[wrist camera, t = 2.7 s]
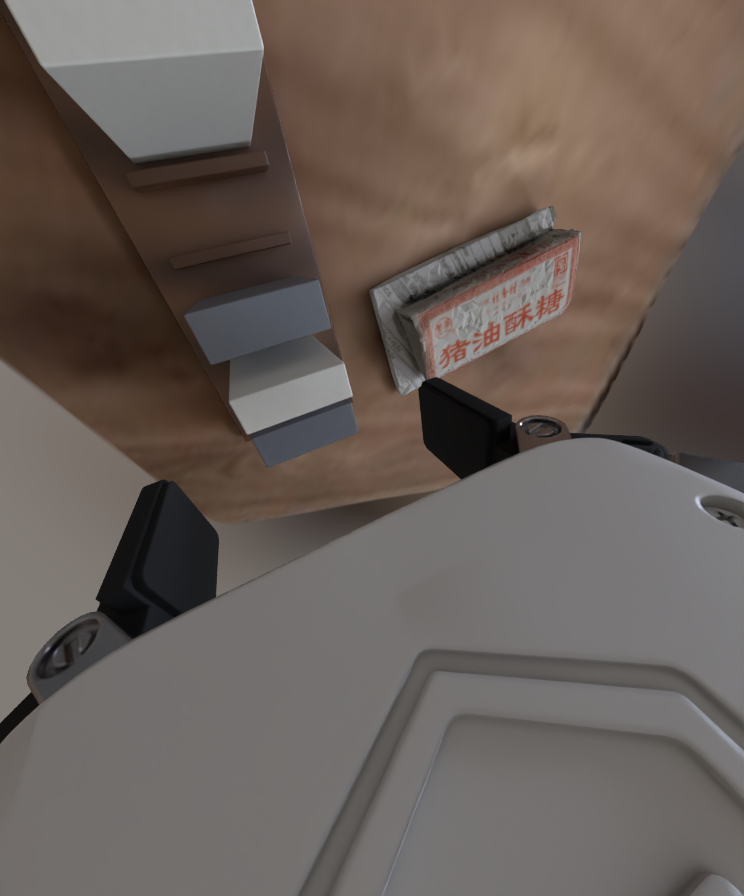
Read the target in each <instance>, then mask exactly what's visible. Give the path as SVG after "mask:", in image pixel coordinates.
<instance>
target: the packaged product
mask: <svg viewBox="0 0 744 896" xmlns="http://www.w3.org/2000/svg"><path fill="white" fill-rule="evenodd" d="M556 216H557V215H556V212H555V210H554V208H553V206H550V207H547V208H543V209H540V210H538V211H536V212H535V213H533V214H531V215H529V216H527V217H525V218H523V219H521V220H519V221H517V222H515V223H512V224H510V225H507V226H505V227H502V228H500V229H497V230H494V231H492V232H489V233H487V234H484V235H482V236H480V237H477V238H475V239H472V240H470V241H468V242H465V243H463V244H461V245H458V246H456V247H454V248H452V249H450V250H448V251H446V252H444V253H442V254H439V255H437V256H435V257H433V258H431V259H429V260H427V261H425V262H423V263H421V264H419V265H417V266H415V267H413V268H410V269H408V270H406V271H404V272H402V273H400V274H398V275H396V276H394V277H392V278H390V279H388V280H386V281H384V282H383V283H381V284H379V285H378V286H376V287H374V288H372V289H371V290H369V293H370V297H371V300H372V304H373V307H374V311H375V315H376V318H377V322H378V325H379V329H380V332H381V336H382V340H383V343H384V347H385V351H386V355H387V358H388V362H389V366H390V369H391V373H392V376H393V379H394V382H395V385H396V388H397V390H398V392H399V393H400V394H401V396H404V395H405V394H407V393H409V392H411V391H412V390H414V389H417V388H419V387H420V386H421V384H422V382H423V381H426V380H428V379H431V378H434V377H438V378H442V377H443V376H445V375H447V374H449V373H451V372H453V371H455V370H457V369H458V368H460V367H463V366H465V365H466V364H468V363H470V362H472V361H474V360H475V359H477V358H479V357H481V356H483V355H485V354H487V353H489V352H490V351H492V350H494V349H496V348H498V347H500V346H502V345H504V344H506V343H507V342H509V341H511V340H513V339H515V338H517V337H519V336H521V335H523V334H525V333H527V332H528V331H530V330H532V329H534V328H536V327H538V326H540V325H542V324H544V323H546V322H547V321H549V320H551V319H553V318H555V317H557V316H559V315H560V314H562V313H563V312H564V311H565V310H566V309H567V306H568V305H569V303H570V300H571V299H572V298H573V295H574V292H575V291H574V285H575V282H576V281H575V275H576V271H577V266H578V260H579V248H580V240H581V234H580V233H581V231H574V230H573V229H571V230H568V231H567V230H564V229H555V230H554V221H555V218H556Z"/></svg>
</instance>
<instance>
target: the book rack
mask: <svg viewBox="0 0 744 896" xmlns="http://www.w3.org/2000/svg"><path fill="white" fill-rule="evenodd" d="M0 12H1V14H2V15H3V17H4V19H5V21H6V22H7V24H8V26H9V28H10V29H11V31H12V33H13V35H14V36H15V38H16V40H17V42H18V43H19V45H20V47H21V49H22V50H23V52H24V54H25V56H26V57H27V59H28V61H29V63H30V64H31V66H32V68H33V70H34V71H35V73H36V75H37V77H38V78H39V80H40V82H41V84H42V85H43V87H44V89H45V91H46V92H47V94H48V96H49V98H50V99H51V101H52V103H53V105H54V106H55V108H56V110H57V112H58V113H59V115H60V117H61V119H62V120H63V122H64V124H65V126H66V127H67V129H68V131H69V133H70V134H71V136H72V138H73V140H74V141H75V143H76V145H77V147H78V148H79V150H80V152H81V154H82V155H83V157H84V159H85V161H86V162H87V164H88V166H89V168H90V169H91V171H92V173H93V175H94V176H95V178H96V180H97V182H98V183H99V185H100V187H101V189H102V190H103V192H104V194H105V196H106V197H107V199H108V201H109V203H110V204H111V206H112V208H113V210H114V211H115V213H116V215H117V217H118V218H119V220H120V222H121V224H122V225H123V227H124V229H125V231H126V232H127V234H128V236H129V238H130V239H131V241H132V243H133V245H134V246H135V248H136V250H137V252H138V253H139V255H140V257H141V259H142V260H143V262H144V264H145V266H146V267H147V269H148V271H149V273H150V274H151V276H152V278H153V280H154V281H155V283H156V285H157V287H158V288H159V290H160V292H161V294H162V295H163V297H164V299H165V301H166V302H167V304H168V306H169V308H170V309H171V311H172V313H173V315H174V316H175V318H176V320H177V322H178V323H179V325H180V327H181V329H182V330H183V332H184V334H185V336H186V337H187V339H188V341H189V343H190V344H191V346H192V348H193V350H194V351H195V353H196V355H197V357H198V358H199V360H200V362H201V364H202V365H203V367H204V369H205V371H206V372H207V374H208V376H209V378H210V379H211V381H212V383H213V385H214V386H215V388H216V390H217V392H218V393H219V395H220V397H221V399H222V400H223V402H224V404H225V406H226V407H227V409H228V411H229V413H230V414H231V416H232V418H233V420H234V421H235V423H236V425H237V427H238V428H239V430H240V432H241V434H242V435H243V437H244V439H245V441H246V442H247V441H250V440H252V437H251V434H246V432H245V431H244V429H243V427H242V425H241V423H240V422H239V420H238V418H237V416H236V414H235V413H234V411H233V409H232V407H231V406H230V404H229V381H230V360H227V361H223V362H220V363H217V364H213V365H211V364H210V363H209V361H208V359H207V357H206V356H205V354H204V352H203V350H202V348H201V347H200V345H199V343H198V341H197V339H196V337H195V336H194V334H193V332H192V330H191V328H190V327H189V325H188V323H187V321H186V319H185V318H184V314H185V313H186V312H187V311H188V310H189V309H190V308H191V307H192V306H194V305H195V304H196V303H197V302H198V301H199V300H202V299H206V298H210V297H213V296H217V295H221V294H225V293H229V292H233V291H237V290H241V289H245V288H249V287H253V286H256V285H260V284H264V283H268V282H272V281H276V280H280V279H284V278H288V277H292V276H298V277H305V278H311V279H318V280H319V283H320V287H321V291H322V295H323V298H324V302H325V306H326V310H327V314H328V317H329V321H330V325H331V329H328V330H325V331H322V332H318V333H315V334H312V336H314V337H315V338H316V339H317V340H318V341H319V342H320V343H322V344H323V345H324V346H325V347H326V348H327V349H328V350H330V351H331V352H332V353H333V354H334V355H335V356H337V357H338V358H339V359H340V360H341V361H342V358H341V355H340V351H339V347H338V343H337V339H336V335H335V331H334V327H333V324H332V320H331V316H330V312H329V308H328V304H327V300H326V296H325V293H324V289H323V285H322V281H321V277H320V273H319V269H318V265H317V262H316V258H315V254H314V250H313V246H312V242H311V238H310V235H309V231H308V227H307V223H306V219H305V215H304V211H303V207H302V204H301V200H300V196H299V192H298V188H297V184H296V180H295V176H294V173H293V169H292V165H291V161H290V157H289V153H288V149H287V145H286V142H285V138H284V134H283V130H282V126H281V122H280V118H279V114H278V111H277V107H276V103H275V99H274V95H273V91H272V87H271V83H270V80H269V76H268V72H267V68H266V64H265V60H264V56H263V59H262V66H261V73H260V80H259V87H258V94H257V102H256V109H255V116H254V123H253V130H252V138H251V145H250V146H249V147H243V148H236V149H229V150H223V151H216V152H210V153H203V154H197V155H190V156H183V157H177V158H170V159H164V160H157V161H151V162H144V163H137V164H135V163H133V161H132V160H131V159H130V158H129V157H128V156H127V155H126V154H125V153H124V152H123V151H122V150H121V149H120V148H119V147H118V146H117V145H116V144H115V143H114V142H113V141H112V140H111V139H110V137H109V136H108V135H107V134H106V133H105V132H104V131H103V130H102V129H101V128H100V127H99V126H98V125H97V124H96V123H95V122H94V121H93V120H92V119H91V118H90V117H89V116H88V115H87V113H86V112H85V111H84V110H83V109H82V108H81V107H80V106H79V105H78V104H77V103H76V102H75V101H74V100H73V99H72V98H71V97H70V96H69V95H68V94H67V93H66V92H65V91H64V89H63V88H62V87H61V86H60V85H59V84H58V83H57V82H56V81H55V80H54V79H53V78H52V77H51V76H50V75H49V74H48V73H47V72H46V71H45V70H44V69H43V68H42V66H41V65H40V64H39V62H38V60H37V59H36V57H35V55H34V53H33V52H32V50H31V48H30V46H29V44H28V43H27V41H26V39H25V37H24V35H23V34H22V32H21V30H20V28H19V26H18V25H17V23H16V21H15V19H14V18H13V16H12V14H11V12H10V10H9V9H8V7H7V5H6V3H5V1H4V0H0ZM347 399H348V400H349V401H350V402H351V403H352V402H353V401H352V397H350V398H347Z"/></svg>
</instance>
